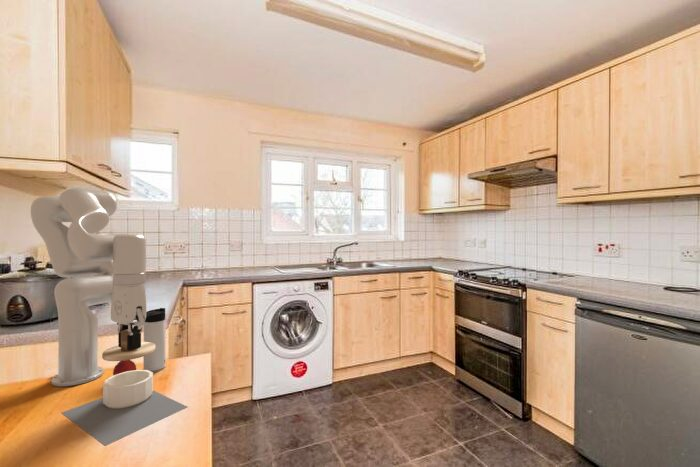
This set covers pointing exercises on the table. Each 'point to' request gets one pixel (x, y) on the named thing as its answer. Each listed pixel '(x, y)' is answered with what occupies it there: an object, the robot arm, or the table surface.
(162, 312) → the travel mug
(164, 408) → the mat
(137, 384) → the bowl
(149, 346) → the lid
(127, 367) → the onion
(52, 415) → the table surface
